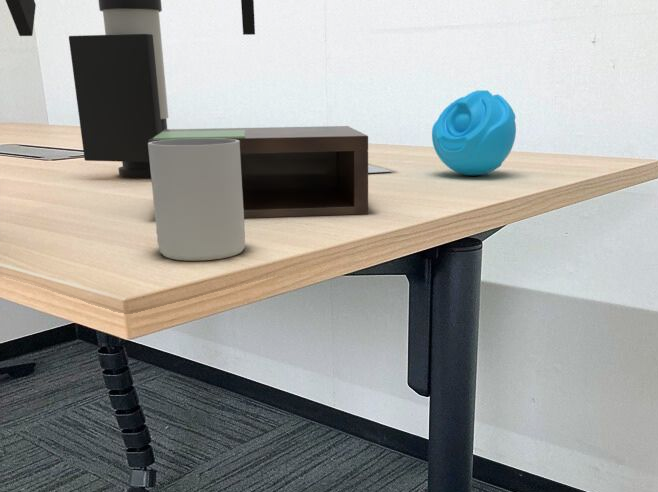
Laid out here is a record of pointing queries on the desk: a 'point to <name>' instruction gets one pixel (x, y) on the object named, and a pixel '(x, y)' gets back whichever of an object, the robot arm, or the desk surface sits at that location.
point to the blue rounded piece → (475, 133)
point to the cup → (197, 197)
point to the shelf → (296, 168)
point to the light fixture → (121, 85)
